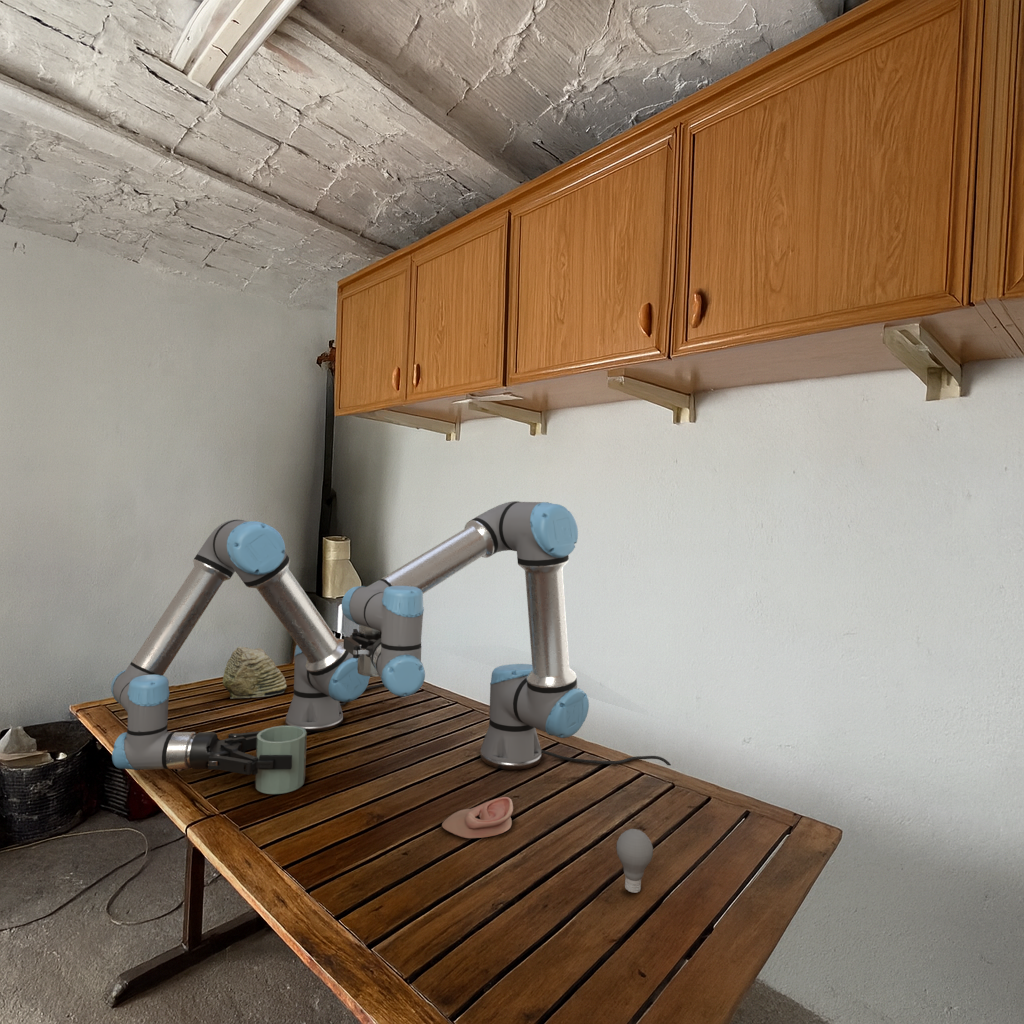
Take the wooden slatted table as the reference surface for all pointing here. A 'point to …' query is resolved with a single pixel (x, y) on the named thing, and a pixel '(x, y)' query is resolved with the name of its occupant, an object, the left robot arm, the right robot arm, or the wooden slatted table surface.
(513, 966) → the wooden slatted table surface
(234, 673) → the fossil
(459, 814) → the anatomical model
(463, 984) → the wooden slatted table surface
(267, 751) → the pot
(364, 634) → the tumbler
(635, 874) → the light bulb
